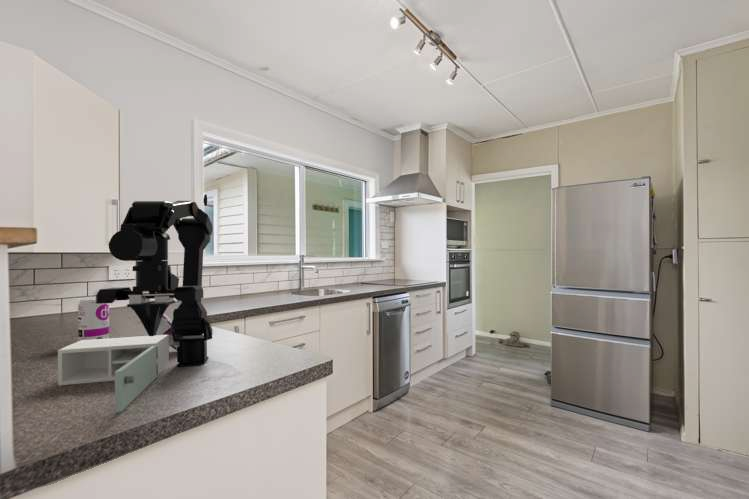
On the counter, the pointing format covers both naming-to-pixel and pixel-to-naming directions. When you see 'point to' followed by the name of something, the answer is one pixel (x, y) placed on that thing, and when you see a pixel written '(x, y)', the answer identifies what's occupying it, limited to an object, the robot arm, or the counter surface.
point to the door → (135, 377)
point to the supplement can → (93, 320)
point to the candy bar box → (167, 330)
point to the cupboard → (106, 357)
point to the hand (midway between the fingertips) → (152, 335)
